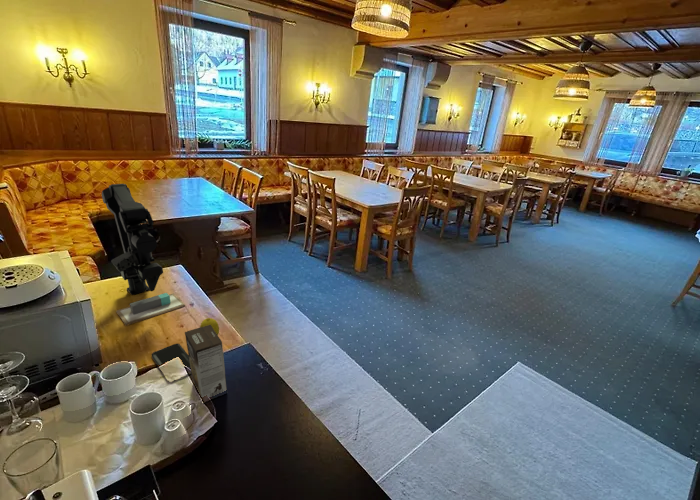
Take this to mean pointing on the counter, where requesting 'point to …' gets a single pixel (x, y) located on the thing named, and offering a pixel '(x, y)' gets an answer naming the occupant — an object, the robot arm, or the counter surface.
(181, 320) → the counter surface
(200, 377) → the coffee box
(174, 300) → the cream flat piece
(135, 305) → the dark gray rectangular block
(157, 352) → the phone
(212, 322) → the lemon
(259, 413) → the counter surface
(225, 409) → the counter surface
